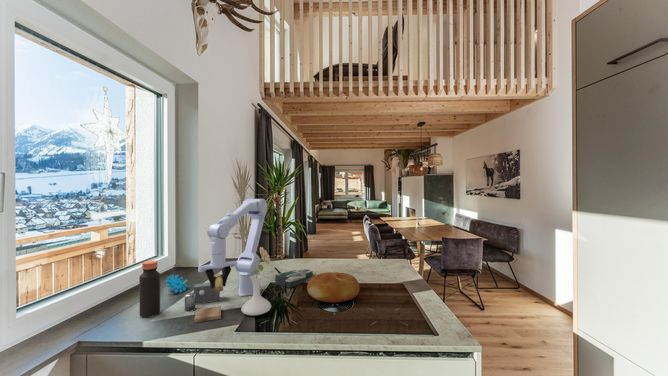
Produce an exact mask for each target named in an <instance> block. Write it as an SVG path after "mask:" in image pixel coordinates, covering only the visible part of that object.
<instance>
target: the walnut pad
mask: <svg viewBox="0 0 668 376" xmlns="http://www.w3.org/2000/svg"><path fill="white" fill-rule="evenodd" d="M214 319H215V320H220V319H222V305H219V306H212V307H205V308H204V307H203V308H198V309H195V314H194V319H193V322H194V323H202V322H207V321H208V320H209V321H215V320H214Z"/></svg>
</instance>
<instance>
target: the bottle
mask: <svg viewBox="0 0 668 376" xmlns="http://www.w3.org/2000/svg"><path fill="white" fill-rule="evenodd" d="M141 265H142V266H141V267H142V271H143V272H142V273H141V274H140V275H139V284H138V285H139V290H138V291H139V292H138V293H139V296H138V297H139V317H140V318H151V317H154V316H155V317H156V316H157V315H159V313H161V273H160V272H159V271H158V270H157V269H158V261H157V260H147V261H145V262H141Z"/></svg>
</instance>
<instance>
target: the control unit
mask: <svg viewBox="0 0 668 376" xmlns="http://www.w3.org/2000/svg"><path fill="white" fill-rule="evenodd" d="M193 293H196V303H198V304H203V302H205V303H211V302H210V301H213V302H218V301H217V300H220V301H221V295H220V294H221V292H213V289H212V288H211V287H210V282H204V283H195V284H194V286H193Z"/></svg>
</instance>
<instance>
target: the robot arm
mask: <svg viewBox="0 0 668 376" xmlns="http://www.w3.org/2000/svg"><path fill="white" fill-rule="evenodd" d="M268 207H269V206H268V203H267V200H266V199H265V198H246V199H244V200H243V201H242V204H241V205H240V206H239V207H238V208H237V209H236V210H235V211H234V212H233V213H232V212H228V213H226V214H225V215H224V216H223V218H221V219H219V220H218V221H217V223H212V224H211V225H209V227H208V229H207V230H206V233H207V236H208V238H209V242H210V263H208V264H204V265H198V266H197V267H198V269H197V271H198V273H203V272H204V273H205V274H206V276H207V278H208V283H210V287H211V288H212V289H213V288H214V275H215V272H214V270H219V269H221V273H222V274H223V287H226V284H227V280H228V279H229V278H228V277H229V276H230V273H231V272H232V268H235V270H236V272H237V274H238V275H239V276H238V280H239V281H238V282H239V283H238V284H239V285H238V287H239V289H238V290H237V294H238V297H245V296H246V297H247V296H253V293H254V288H253V282H252V280H251V279H250V277H251V276H253V275H261V272H260V270H259V268H258V265H260V264H259V262H260V260H261V258H260V256H259V255H258V254H257V251H258V247H259V244H260V243H259V242H260V238H261V235H262V230H263V227H264V222H265V217H266V215H267V214H266V213H267V209H268ZM246 214H248V216H249V217H251V219H252V220H251V224H250V225H251V226H250V228H249V232H248V237H247V240H246V245H245V249H244V251H243V252H241V253H240V254H239V256H238V259H236V260H233V261H226V260H227V259H226V258H227V257H226V254H227V253H226V252H227V251H226V249H227V245H226V243H227V237H229V234H230V232H231V230H232V229H233V228H234V227H235V226H237V224H239V220H240V219H241V218H242V217H243V216H245V215H246ZM255 269H256V270H257V269H258V270H259V272H258V274H257V273H253V272H254V270H255ZM261 285H262V284H260V287H259V292H260V294H261Z"/></svg>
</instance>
